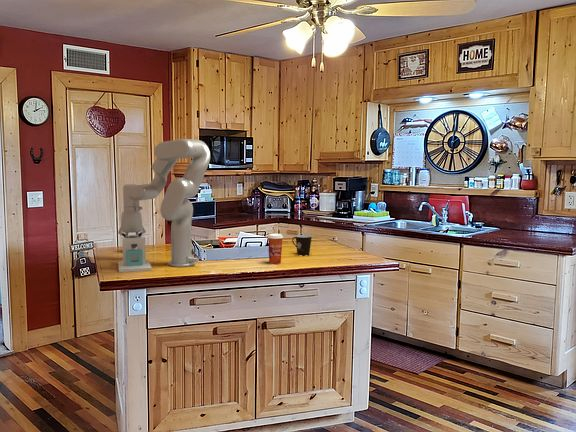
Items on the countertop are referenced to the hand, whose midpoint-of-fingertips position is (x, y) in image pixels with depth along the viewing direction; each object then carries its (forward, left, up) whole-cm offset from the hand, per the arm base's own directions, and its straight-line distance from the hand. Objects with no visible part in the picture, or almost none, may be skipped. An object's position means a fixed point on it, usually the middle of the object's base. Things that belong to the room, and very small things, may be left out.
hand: (132, 245), depth 261 cm
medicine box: (+10, -17, -7) cm, 21 cm away
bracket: (-10, +15, -7) cm, 19 cm away
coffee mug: (-76, -42, -7) cm, 88 cm away
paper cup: (-69, -16, -7) cm, 72 cm away
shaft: (-4, +6, +1) cm, 8 cm away
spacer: (-12, +17, -6) cm, 21 cm away
